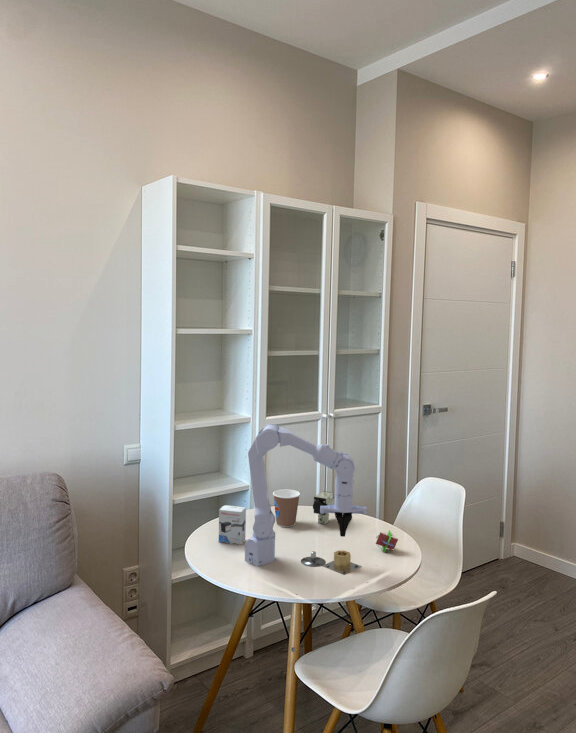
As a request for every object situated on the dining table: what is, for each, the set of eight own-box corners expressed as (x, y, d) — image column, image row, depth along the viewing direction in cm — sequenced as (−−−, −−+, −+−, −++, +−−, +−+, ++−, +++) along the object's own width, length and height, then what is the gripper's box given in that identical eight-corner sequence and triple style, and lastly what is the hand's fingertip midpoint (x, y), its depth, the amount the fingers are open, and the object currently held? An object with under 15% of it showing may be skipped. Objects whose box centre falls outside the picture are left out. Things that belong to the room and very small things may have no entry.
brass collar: (343, 570, 186) (343, 558, 186) (330, 565, 189) (331, 553, 189) (353, 566, 189) (353, 553, 189) (340, 561, 193) (341, 549, 193)
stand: (314, 572, 187) (314, 559, 186) (295, 564, 192) (295, 552, 192) (330, 564, 193) (331, 552, 192) (312, 557, 198) (312, 545, 198)
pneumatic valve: (311, 526, 227) (312, 495, 226) (323, 517, 237) (324, 487, 236) (325, 528, 224) (326, 497, 223) (336, 519, 235) (337, 489, 234)
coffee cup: (271, 519, 233) (272, 489, 232) (298, 519, 234) (299, 489, 233) (272, 528, 223) (273, 497, 222) (300, 529, 224) (301, 497, 223)
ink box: (217, 542, 209) (218, 509, 208) (222, 537, 214) (223, 504, 213) (241, 545, 207) (242, 511, 206) (245, 539, 212) (246, 507, 211)
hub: (344, 578, 183) (344, 565, 183) (321, 568, 189) (322, 556, 189) (362, 569, 190) (362, 557, 189) (339, 560, 196) (340, 548, 195)
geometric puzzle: (399, 540, 209) (386, 522, 208) (404, 548, 202) (391, 529, 201) (382, 552, 209) (369, 534, 208) (387, 560, 202) (373, 542, 201)
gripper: (365, 490, 194) (363, 531, 195) (320, 489, 194) (318, 530, 195) (368, 497, 187) (366, 539, 188) (321, 496, 187) (320, 538, 188)
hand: (342, 535), depth 191 cm, fingers closed
